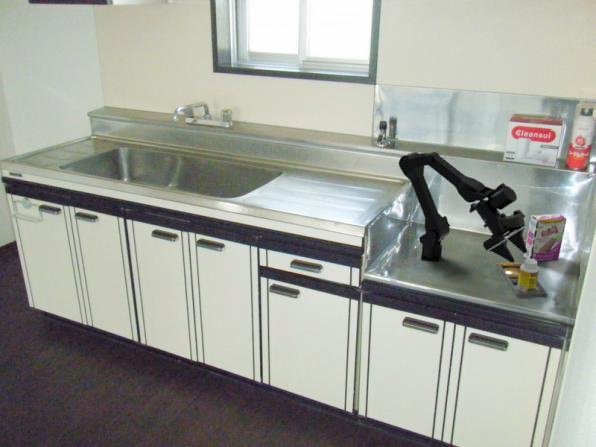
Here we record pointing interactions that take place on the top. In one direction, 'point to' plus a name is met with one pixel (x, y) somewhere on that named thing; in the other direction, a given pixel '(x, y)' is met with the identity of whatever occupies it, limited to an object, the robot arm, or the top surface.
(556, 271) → the top surface
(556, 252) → the candy bar box
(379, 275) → the top surface
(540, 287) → the rack
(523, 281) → the supplement bottle
